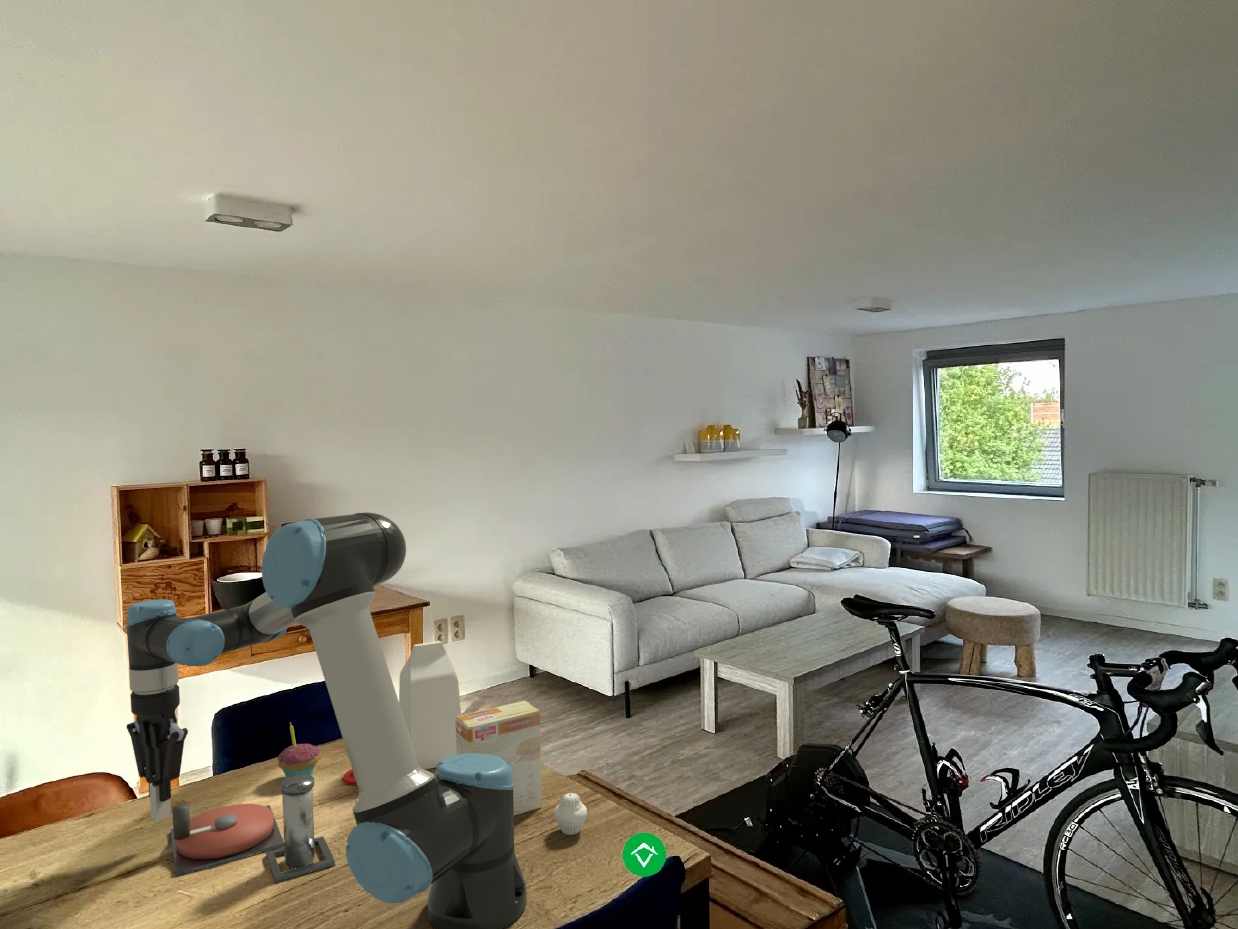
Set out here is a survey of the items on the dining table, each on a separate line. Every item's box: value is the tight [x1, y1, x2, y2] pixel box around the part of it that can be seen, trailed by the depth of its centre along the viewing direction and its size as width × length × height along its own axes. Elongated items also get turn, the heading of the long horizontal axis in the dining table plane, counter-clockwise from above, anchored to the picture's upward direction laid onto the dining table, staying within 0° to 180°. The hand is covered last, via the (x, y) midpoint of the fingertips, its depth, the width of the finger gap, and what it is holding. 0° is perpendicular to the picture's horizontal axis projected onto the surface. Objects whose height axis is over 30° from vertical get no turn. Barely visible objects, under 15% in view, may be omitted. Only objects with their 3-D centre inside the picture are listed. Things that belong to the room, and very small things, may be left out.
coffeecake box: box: [456, 700, 543, 817], centre depth 153 cm, size 15×7×20 cm, turn 122°
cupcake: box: [276, 722, 322, 779], centre depth 168 cm, size 9×8×12 cm
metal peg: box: [279, 775, 316, 869], centre depth 136 cm, size 5×5×14 cm
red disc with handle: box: [171, 803, 275, 859], centre depth 144 cm, size 16×16×7 cm
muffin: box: [554, 792, 588, 836], centre depth 145 cm, size 6×6×7 cm
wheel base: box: [170, 804, 284, 877], centre depth 144 cm, size 17×17×1 cm
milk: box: [398, 640, 462, 770], centre depth 178 cm, size 12×12×26 cm
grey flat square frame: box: [265, 836, 336, 884], centre depth 137 cm, size 10×10×1 cm
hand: (161, 816), depth 142 cm, fingers closed
